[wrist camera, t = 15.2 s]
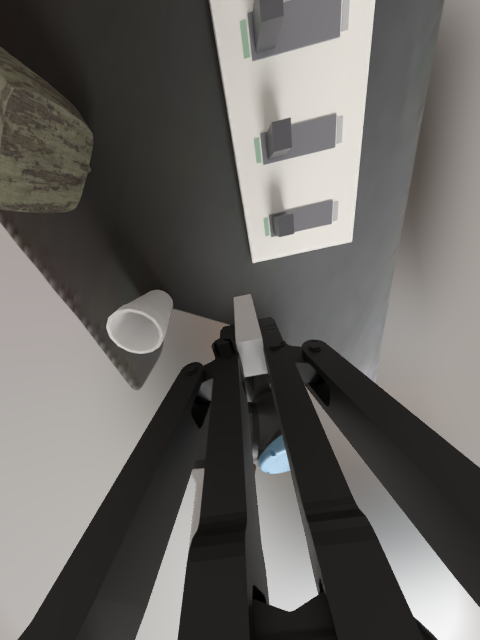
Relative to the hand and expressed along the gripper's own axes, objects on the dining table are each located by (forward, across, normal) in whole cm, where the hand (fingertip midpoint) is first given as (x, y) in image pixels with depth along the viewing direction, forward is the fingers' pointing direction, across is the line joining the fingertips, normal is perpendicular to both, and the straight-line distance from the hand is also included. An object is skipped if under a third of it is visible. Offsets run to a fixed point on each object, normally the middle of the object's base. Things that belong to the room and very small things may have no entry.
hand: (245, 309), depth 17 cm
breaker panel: (+26, -13, -15) cm, 33 cm away
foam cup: (+27, +20, +7) cm, 34 cm away
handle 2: (+23, -9, -4) cm, 25 cm away
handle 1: (+23, -9, -26) cm, 36 cm away
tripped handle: (+23, -9, -15) cm, 29 cm away
